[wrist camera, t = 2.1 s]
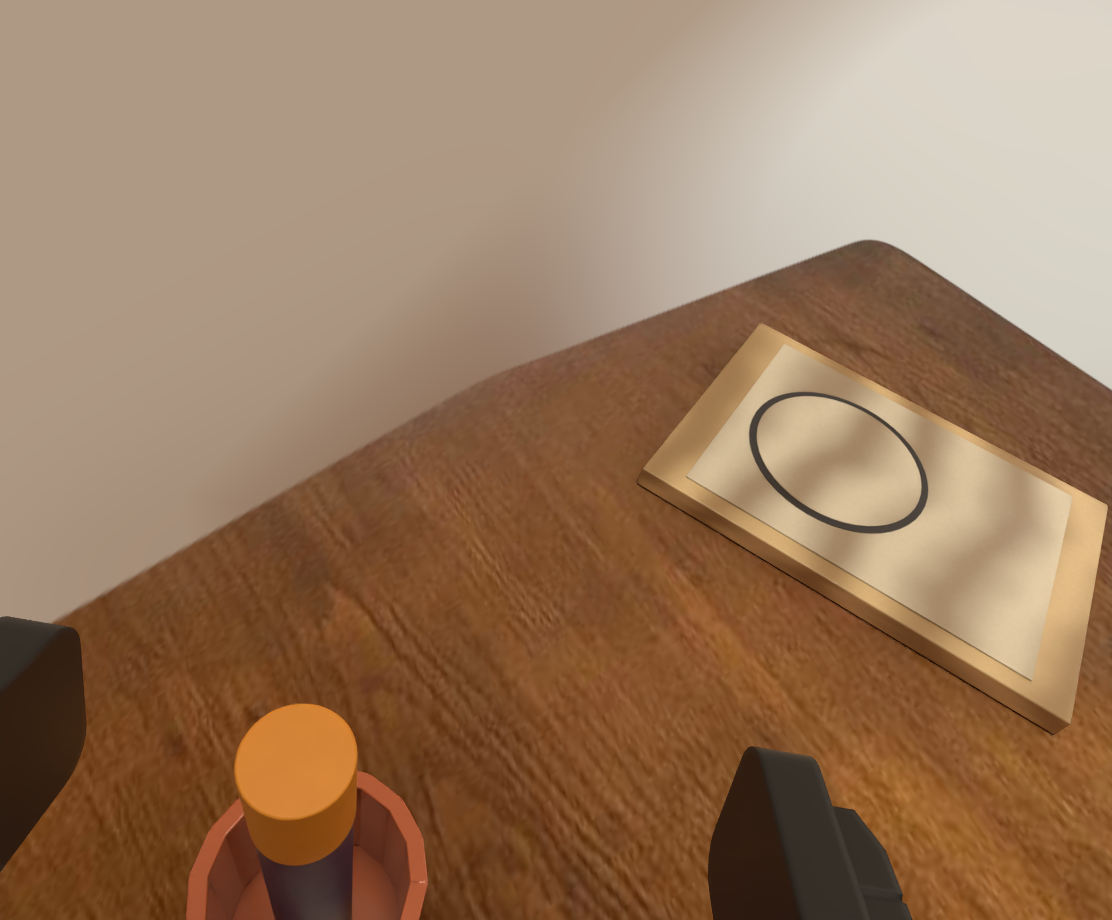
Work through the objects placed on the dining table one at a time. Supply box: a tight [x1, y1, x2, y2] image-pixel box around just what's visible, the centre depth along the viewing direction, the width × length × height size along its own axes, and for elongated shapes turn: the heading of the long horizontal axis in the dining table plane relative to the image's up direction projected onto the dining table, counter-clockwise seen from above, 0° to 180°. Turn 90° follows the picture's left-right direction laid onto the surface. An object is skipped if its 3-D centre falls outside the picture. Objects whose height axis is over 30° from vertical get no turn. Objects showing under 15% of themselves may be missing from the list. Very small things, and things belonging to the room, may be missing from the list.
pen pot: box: [186, 771, 428, 920], centre depth 24 cm, size 6×6×6 cm
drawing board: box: [637, 323, 1108, 734], centre depth 44 cm, size 22×16×1 cm
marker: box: [234, 704, 358, 920], centre depth 21 cm, size 2×2×14 cm
